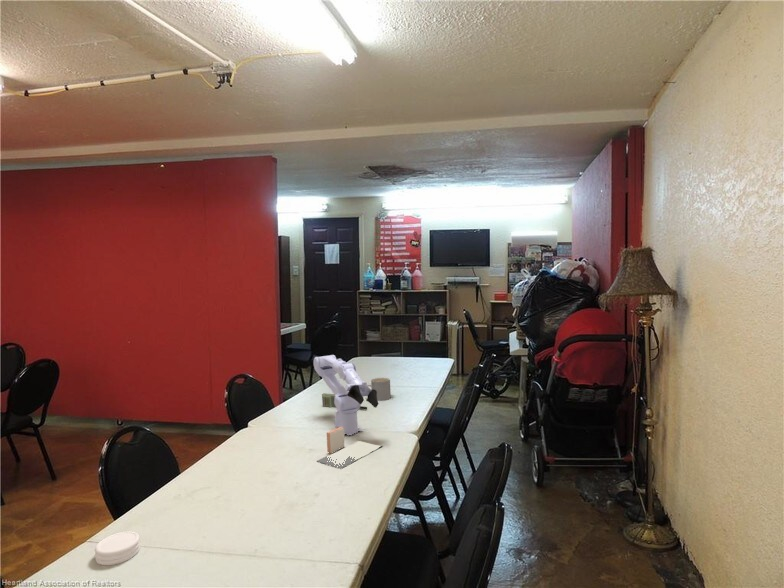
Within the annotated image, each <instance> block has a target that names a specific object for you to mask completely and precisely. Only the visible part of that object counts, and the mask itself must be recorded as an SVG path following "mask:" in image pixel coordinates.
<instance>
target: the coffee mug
mask: <svg viewBox="0 0 784 588" xmlns="http://www.w3.org/2000/svg"><path fill="white" fill-rule="evenodd" d="M370 381H371V382H369V383H368V382H367V385H366V386H368V387H369V388H370V389H371V390H372V389H374V390H376V391H377V400H378V402H379V401H380V402H384V401H388V400H390V399H392V398H391V396H392V395H391V379H390V378H389V377H385V376H384V377H381V376H379V377H375V378H371V380H370Z"/></svg>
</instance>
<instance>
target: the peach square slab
mask: <svg viewBox="0 0 784 588" xmlns="http://www.w3.org/2000/svg"><path fill="white" fill-rule="evenodd" d="M344 446H345V434H344V427H339V428H336V429H335V428H334V429H331V430H330V431H328V432H326V449H327V452H329V453H331V454H332V452H333V453H334V451H336V450H338V449H339V448H342V447H344ZM329 453H328V454H329Z"/></svg>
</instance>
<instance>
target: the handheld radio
mask: <svg viewBox="0 0 784 588" xmlns="http://www.w3.org/2000/svg"><path fill="white" fill-rule="evenodd" d="M334 399H335V395H334V393H326V392H325V393H322V394H321V400H322V407H327V408H332V409H333V408H334V409H336V406H335V404H334ZM358 410H365V411H366V410H368V406H360V408H359V409H358Z"/></svg>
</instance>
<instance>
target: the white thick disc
mask: <svg viewBox="0 0 784 588" xmlns="http://www.w3.org/2000/svg"><path fill="white" fill-rule="evenodd" d="M140 540H141V536H140V535H139V533H137V532H135V531H129V530H128V531H120V532H115V533H114V534H111V535H108V536H106V537H105V538H103V539H102V540H100V541H99V542H98V543H97V544H96V545H95V547H94V552H95V553H94V557H95V562H96V564H98V565H100V566H115V565H118V564H121V563H124V562H126V561H128V560H130V559H132V558H133V557H135V556H136V555H137V554H138V553H139V552H140V550H141V541H140Z"/></svg>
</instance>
